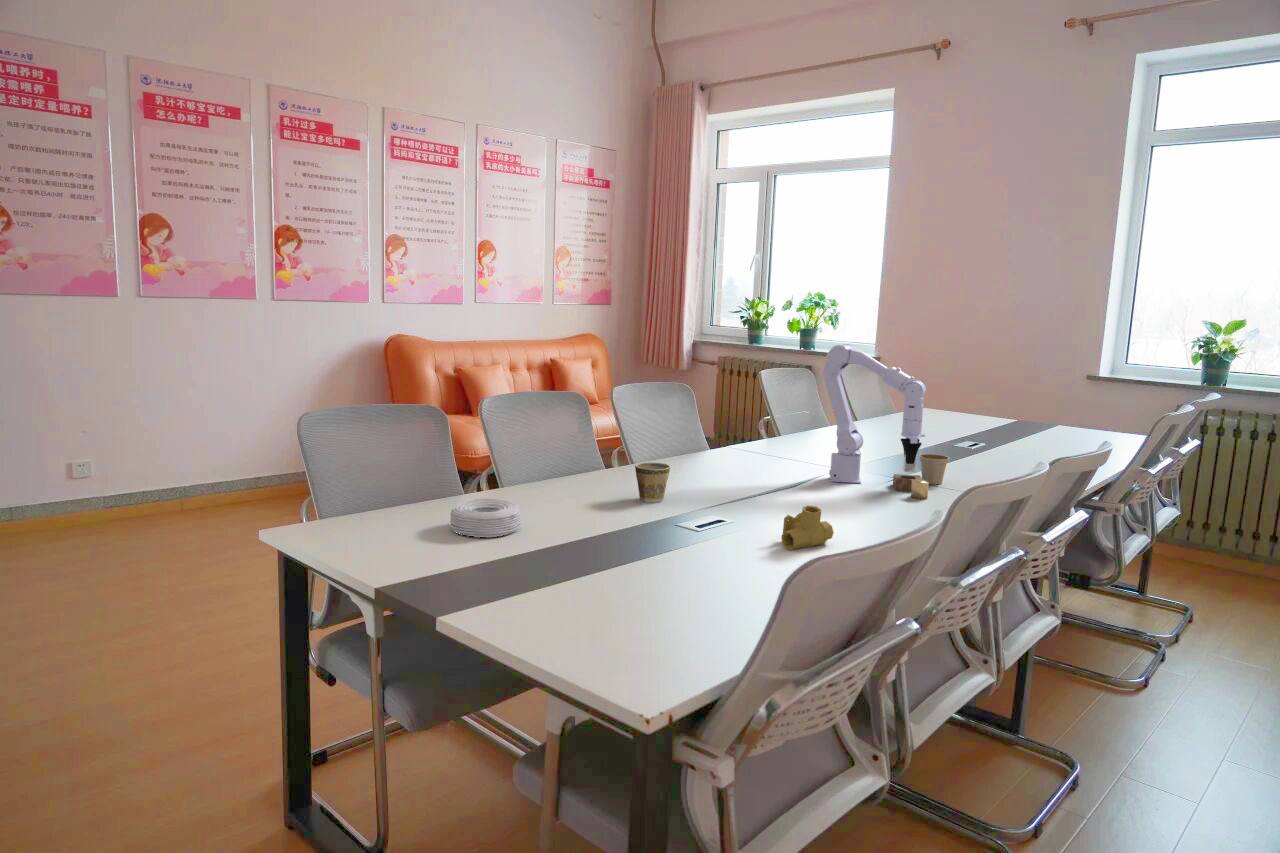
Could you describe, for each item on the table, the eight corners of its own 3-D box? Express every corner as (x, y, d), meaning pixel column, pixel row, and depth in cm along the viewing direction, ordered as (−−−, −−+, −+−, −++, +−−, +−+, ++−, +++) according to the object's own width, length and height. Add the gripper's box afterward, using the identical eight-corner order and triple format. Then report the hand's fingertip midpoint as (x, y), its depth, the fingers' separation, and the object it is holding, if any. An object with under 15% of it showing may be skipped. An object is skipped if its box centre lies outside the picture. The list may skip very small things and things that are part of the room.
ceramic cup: (665, 505, 240) (666, 470, 238) (631, 502, 242) (631, 468, 240) (673, 494, 252) (674, 461, 251) (640, 492, 254) (641, 459, 252)
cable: (490, 516, 224) (490, 494, 223) (536, 529, 213) (536, 506, 212) (435, 529, 211) (435, 506, 210) (481, 544, 200) (481, 519, 199)
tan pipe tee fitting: (833, 548, 206) (804, 532, 214) (838, 509, 203) (809, 494, 211) (794, 559, 199) (766, 542, 207) (799, 518, 196) (770, 503, 204)
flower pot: (951, 486, 273) (953, 459, 271) (921, 485, 273) (923, 459, 272) (941, 479, 282) (944, 454, 281) (913, 479, 282) (915, 453, 281)
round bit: (911, 499, 254) (912, 482, 254) (909, 495, 259) (910, 479, 258) (928, 500, 254) (929, 483, 253) (926, 496, 258) (927, 480, 257)
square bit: (904, 471, 266) (906, 452, 265) (903, 469, 269) (905, 450, 268) (914, 472, 266) (916, 453, 265) (913, 470, 269) (914, 451, 268)
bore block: (895, 490, 265) (896, 479, 265) (892, 484, 273) (893, 473, 272) (922, 491, 264) (923, 480, 263) (918, 486, 272) (919, 475, 271)
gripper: (929, 423, 257) (925, 467, 259) (922, 416, 271) (919, 458, 273) (905, 422, 258) (901, 466, 261) (899, 415, 273) (896, 457, 275)
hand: (909, 462), depth 267 cm, fingers closed on square bit, 3 cm apart
